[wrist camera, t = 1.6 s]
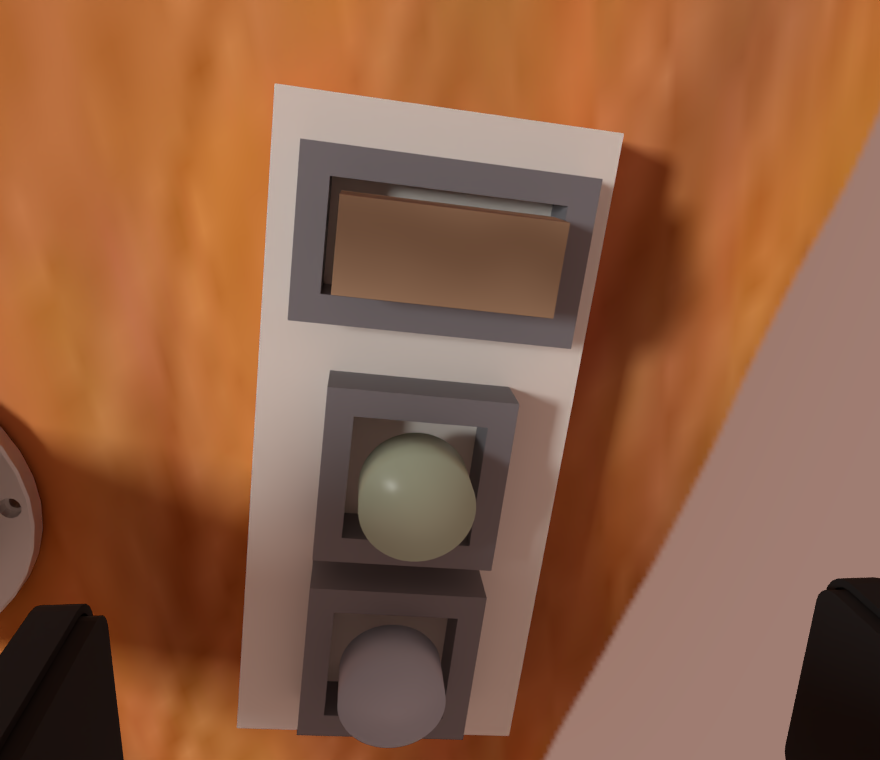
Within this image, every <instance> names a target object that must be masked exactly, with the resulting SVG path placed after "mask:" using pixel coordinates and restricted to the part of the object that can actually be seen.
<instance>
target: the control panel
mask: <svg viewBox="0 0 880 760" xmlns="http://www.w3.org/2000/svg"><path fill="white" fill-rule="evenodd" d="M623 136H624V133H617V132H610V131H603V130H596V129H589V128H582V127H575V126H568V125H561V124H554V123H547V122H540V121H533V120H526V119H519V118H512V117H505V116H498V115H491V114H484V113H477V112H470V111H463V110H456V109H449V108H442V107H435V106H428V105H421V104H414V103H407V102H400V101H393V100H386V99H379V98H372V97H365V96H358V95H352V94H345V93H338V92H331V91H324V90H317V89H310V88H303V87H296V86H289V85H282V84H275V87H274V104H273V121H272V138H271V155H270V172H269V189H268V207H267V224H266V241H265V258H264V275H263V292H262V309H261V326H260V343H259V360H258V377H257V394H256V411H255V428H254V445H253V462H252V479H251V496H250V513H249V530H248V547H247V564H246V581H245V598H244V615H243V632H242V649H241V666H240V684H239V701H238V718H237V728H253V729H287V730H297V735H315V736H351V737H353V736H352V735H350V734H349V733H348V732H347V730H346V729H345V728H344V726H343V725H342V723H341V721H340V718H339V715H338V709H337V703H338V681H339V664H340V660H341V657H342V654H343V652H344V650H345V649H346V647H347V646H348V644H349V643H350V642H351V641H352V640H353V639H354V638H356V637H357V636H358V635H360V634H361V633H363V632H365V631H367V630H369V629H371V628H374V627H378V626H382V625H403V626H407V627H411V628H414V629H416V630H418V631H420V632H422V633H423V634H424V635H426V636H427V637H428V638H429V639H430V640H431V641H432V642H433V643H434V645H435V647H436V648H437V651H438V653H439V657H440V662H441V669H442V675H443V682H444V689H445V696H446V704H445V710H444V713H443V716H442V718H441V720H440V721H439V723H438V724H437V726H436V727H435V728H434V729H433V730H432V731H431V732H430V733H429V734H428V735H426V736H425V737H423V738H422V739H457V740H463V736H464V735H492V736H509V733H510V728H511V723H512V718H513V712H514V707H515V702H516V697H517V691H518V686H519V681H520V676H521V670H522V665H523V660H524V655H525V650H526V644H527V639H528V634H529V629H530V623H531V618H532V613H533V608H534V602H535V597H536V592H537V587H538V581H539V576H540V571H541V566H542V560H543V555H544V550H545V545H546V539H547V534H548V529H549V524H550V519H551V513H552V508H553V503H554V498H555V492H556V487H557V482H558V477H559V471H560V466H561V461H562V456H563V450H564V445H565V440H566V435H567V429H568V424H569V419H570V414H571V408H572V403H573V398H574V393H575V388H576V382H577V377H578V372H579V367H580V361H581V356H582V351H583V346H584V340H585V335H586V330H587V325H588V319H589V314H590V309H591V304H592V298H593V293H594V288H595V283H596V278H597V272H598V267H599V262H600V257H601V251H602V246H603V241H604V236H605V230H606V225H607V220H608V215H609V209H610V204H611V199H612V194H613V188H614V183H615V178H616V173H617V167H618V162H619V157H620V152H621V147H622V141H623ZM341 190H344V191H352V192H360V193H368V194H376V195H384V196H392V197H400V198H408V199H416V200H424V201H432V202H440V203H447V204H455V205H463V206H471V207H479V208H487V209H495V210H503V211H511V212H519V213H527V214H535V215H543V216H551V217H556V218H558V219H561V220H564V221H566V222H569V223H570V227H569V232H568V238H567V244H566V249H565V255H564V261H563V266H562V272H561V278H560V283H559V289H558V295H557V300H556V306H555V312H554V317H553V319H552V318H543V317H533V316H524V315H515V314H505V313H496V312H487V311H477V310H468V309H459V308H449V307H440V306H431V305H421V304H412V303H403V302H393V301H384V300H375V299H365V298H356V297H347V296H337V295H331V287H332V275H333V263H334V252H335V240H336V229H337V217H338V205H339V194H340V192H341ZM405 433H425V434H430V435H433V436H436V437H439V438H441V439H443V440H444V441H446V442H448V443H449V444H450V445H452V446H453V447H454V448H455V449H456V450H457V451H458V453H459V454H460V456H461V457H462V459H463V461H464V463H465V466H466V468H467V471H468V475H469V478H470V481H471V484H472V487H473V490H474V493H475V498H476V514H475V519H474V522H473V525H472V527H471V529H470V531H469V533H468V534H467V536H466V537H465V538H464V540H463V541H462V542H461V543H460V544H459V545H458V546H456V547H455V548H454V549H453V550H451V551H450V552H448V553H446V554H444V555H442V556H440V557H437V558H435V559H431V560H427V561H419V562H410V561H403V560H398V559H395V558H392V557H390V556H388V555H386V554H384V553H382V552H381V551H379V550H378V549H376V548H375V547H374V546H373V545H372V544H371V543H370V542H369V540H368V539H367V538H366V536H365V534H364V533H363V530H362V528H361V526H360V522H359V516H358V486H359V475H360V471H361V468H362V466H363V464H364V462H365V460H366V458H367V457H368V455H369V454H370V453H371V452H372V451H373V450H374V449H375V448H376V447H377V446H378V445H379V444H381V443H382V442H384V441H386V440H388V439H389V438H391V437H394V436H397V435H401V434H405Z"/></svg>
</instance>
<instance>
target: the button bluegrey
mask: <svg viewBox="0 0 880 760" xmlns="http://www.w3.org/2000/svg"><path fill="white" fill-rule="evenodd" d="M445 704H446V696H445V689H444V682H443V675H442V669H441V662H440V657H439V653H438V651H437V648H436V647H435V645H434V643H433V642H432V641H431V640H430V639H429V638H428V637H427V636H426V635H424V634H423V633H422V632H420V631H418V630H416V629H414V628H411V627H407V626H403V625H382V626H378V627H374V628H371V629H369V630H367V631H365V632H363V633H361V634H360V635H358V636H357V637H356V638H354V639H353V640H352V641H351V642H350V643H349V644H348V646H347V647H346V649H345V650H344V652H343V654H342V657H341V660H340V664H339V681H338V703H337V709H338V715H339V718H340V721H341V723H342V725H343V726H344V728H345V729H346V730H347V732H348V733H349V734H350V735H352V736H353V737H354V738H356V739H357V740H359V741H361V742H363V743H365V744H368V745H371V746H375V747H382V748H395V747H401V746H405V745H409V744H412V743H414V742H416V741H418V740H420V739H422V738H423V737H425V736H426V735H428V734H429V733H430V732H431V731H432V730H433V729H434V728H435V727H436V726H437V724H438V723H439V721H440V720H441V718H442V716H443V713H444V710H445Z"/></svg>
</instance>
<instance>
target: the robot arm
mask: <svg viewBox="0 0 880 760" xmlns="http://www.w3.org/2000/svg"><path fill="white" fill-rule="evenodd" d="M42 532H43V522H42V508H41V501H40V497H39V494H38V490H37V487H36V484H35V480H34V477H33V475H32V473H31V471H30V469H29V467H28V465H27V463H26V461H25V460H24V458H23V456H22V454H21V452H20V450H19V449H18V448H17V447H16V445H15V444H14V443H13V442H12V440H11V439H10V438H9V436H8V435H7V434H6V433H5V431H4V430H3V429H2V428H1V427H0V613H1V612H2V611H3V609H4V608H5V607H6V606H7V605H8V604H9V603H10V602H11V601H12V599H13V598H14V597H15V596H16V594H17V593H18V592H19V590H20V589H21V587H22V586H23V585H24V583H25V582H26V580H27V579H28V577H29V576H30V574H31V571H32V569H33V567H34V564H35V562H36V559H37V557H38V554H39V550H40V544H41V538H42ZM785 757H786V760H880V578H873V577H872V578H843V579H836V580H833V581H832V582H831V583H830V584H829V585H828V587H827V590H824V591H822V592H821V593H820V594H819V595H818V598H817V601H816V605H815V610H814V614H813V619H812V624H811V629H810V634H809V638H808V643H807V647H806V652H805V657H804V661H803V666H802V670H801V675H800V680H799V685H798V689H797V694H796V699H795V703H794V708H793V713H792V717H791V722H790V727H789V731H788V736H787V741H786V746H785ZM0 760H124V759H123V751H122V742H121V733H120V725H119V716H118V708H117V699H116V691H115V682H114V674H113V665H112V656H111V648H110V639H109V631H108V624H107V620H106V618H105V617H104V616H103V615H102V616H93V614H92V610H91V608H90V606H88V605H87V604H66V605H40V606H36V607H35V608H34V609H33V610H32V611H31V612H30V613H29V615H28V616H27V617H26V619H25V620H24V622H23V623H22V625H21V626H20V627H19V629H18V630H17V632H16V633H15V635H14V636H13V637H12V639H11V640H10V642H9V643H8V644H7V646H6V647H5V649H4V650H3V652H2V653H1V654H0Z"/></svg>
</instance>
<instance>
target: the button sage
mask: <svg viewBox="0 0 880 760" xmlns="http://www.w3.org/2000/svg"><path fill="white" fill-rule="evenodd" d="M475 514H476V498H475V493H474V490H473V487H472V484H471V481H470V478H469V475H468V471H467V468H466V466H465V463H464V461H463V459H462V457H461V456H460V454H459V453H458V451H457V450H456V449H455V448H454V447H453V446H452V445H450V444H449V443H448V442H446V441H444V440H443V439H441V438H439V437H436V436H433V435H430V434H425V433H405V434H401V435H397V436H394V437H391V438H389V439H388V440H386V441H384V442H382V443H381V444H379V445H378V446H377V447H376V448H375V449H374V450H373V451H372V452H371V453H370V454H369V455H368V457H367V458H366V460H365V462H364V464H363V466H362V468H361V471H360V475H359V486H358V516H359V522H360V526H361V528H362V530H363V533H364V534H365V536H366V538H367V539H368V540H369V542H370V543H371V544H372V545H373V546H374V547H375V548H376V549H378V550H379V551H381V552H382V553H384V554H386V555H388V556H390V557H392V558H395V559H398V560H403V561H410V562H419V561H427V560H431V559H435V558H437V557H440V556H442V555H444V554H446V553H448V552H450V551H451V550H453V549H454V548H455V547H456V546H458V545H459V544H460V543H461V542H462V541H463V540H464V538H465V537H466V536H467V534H468V533H469V531H470V529H471V527H472V525H473V522H474V519H475Z"/></svg>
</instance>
